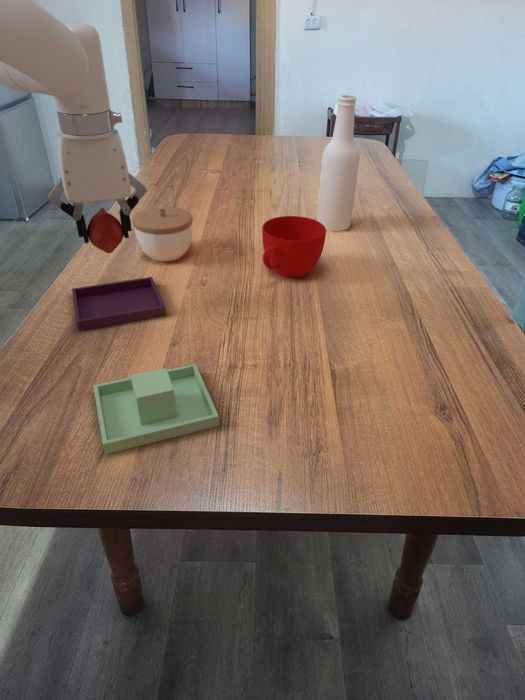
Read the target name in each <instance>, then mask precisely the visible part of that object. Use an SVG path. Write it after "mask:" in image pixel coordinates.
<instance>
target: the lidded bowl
mask: <svg viewBox="0 0 525 700" xmlns="http://www.w3.org/2000/svg"><path fill="white" fill-rule="evenodd" d="M193 218H194V217H193V214H192V213H191V212H190V211H189V210H186V209H184V208H181V207H175V206H155V207H149V208H145V209H142V210H140V211H138V212H136V213H135V214H134V215H133V216H132V218H131V219H132V225H133V229H134V235H135V238H136V239H135V240H136V242H137V244H138V246H139V248H140V250H141V251H142V252H143V253H144V254H145V255H146V256H147V257H149V258H150V259H152V260H154V261H156V262H163V263H166V262H173V261H176V260H179V259H180V258H182V257H183V256H184V255H185V254H186V253H187V252H188V250H189V249H190V246H191V244H192V240H193V221H194V219H193Z"/></svg>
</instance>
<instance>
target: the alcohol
mask: <svg viewBox="0 0 525 700" xmlns="http://www.w3.org/2000/svg"><path fill="white" fill-rule="evenodd" d="M337 99H338V102H337V110H336V116H335V121H334V127H333V133H332V137H331V139H330V141H329V142H327V144H326V146H325V147H324V148H323V151H322V155H321V163H320V175H319V185H318V197H317V207H316V219H315V220H316V221H318V222H320V223H322V224H323V225H324V226H325V228H326V231H330V232H343V231H347V230H348V229H349V228H350V226H351V224H352V217H353V210H354V202H355V195H356V187H357V182H358V181H357V180H358V173H359V165H360V149H359V148H358V145H357V144H356V142H355V139H354V133H355V132H354V130H355V113H356V112H355V111H356V106H357V97H356V96H354V95H350V94H349V95H347V94H342V95H339V96H338V97H337Z"/></svg>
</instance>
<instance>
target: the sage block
mask: <svg viewBox="0 0 525 700" xmlns="http://www.w3.org/2000/svg"><path fill="white" fill-rule="evenodd" d="M167 370H168V369H167V367H163V368H158V369H154V370H149V371H143V372H140V373H139V372H138V373H134V374H131V375H130V377H131V382H132V387H133V393H134V399H135V404H136V408H137V411H138V415H139V419H140V423H141V425H144V424H148V423H152V422H156V421H160V420H165V419H169V418H173V417H177V412H176V403H175V394H174V388H173V385H172V383H171V380H170V377H169V374H168V371H167Z"/></svg>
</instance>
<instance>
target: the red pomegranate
mask: <svg viewBox="0 0 525 700" xmlns="http://www.w3.org/2000/svg"><path fill="white" fill-rule="evenodd" d="M86 228H87V234H88V239H89V242H90V243H91V244H92V245H93V246H94V247H95V248H97V249H98V250H101V251H102V252H105V253H106V254H112V253H113V252H114V251H115V250H116V249H117V248H118V246H119V245H121V243H122V242H123V239H124V235H123V234H124V233H123V228H122V226H121V221H120V220H119V219H118V218H117V217H115V216H114V215H113V214H111V213H109V212H107V211H106V209H105V207H100V209H99V210H98V211H97V212H96V213H95V214H94V215H93V216H92V217H91V218H90V219H89V222H88V225H87V227H86Z"/></svg>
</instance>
